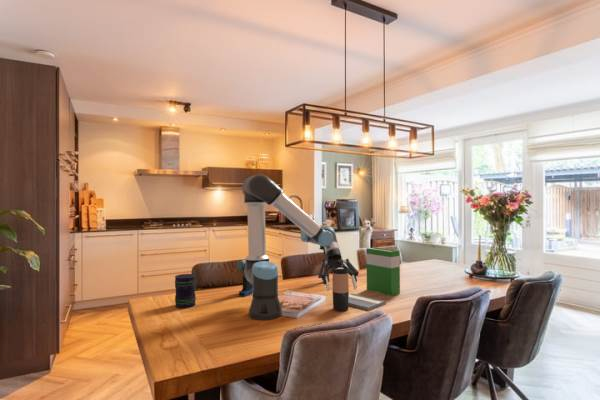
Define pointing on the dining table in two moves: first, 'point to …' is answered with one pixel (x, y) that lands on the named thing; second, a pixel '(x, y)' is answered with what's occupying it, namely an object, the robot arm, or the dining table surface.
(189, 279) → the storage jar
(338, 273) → the travel mug
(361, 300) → the grey book
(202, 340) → the dining table surface
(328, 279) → the potato masher grenade
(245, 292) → the handheld scanner
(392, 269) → the hardback book
